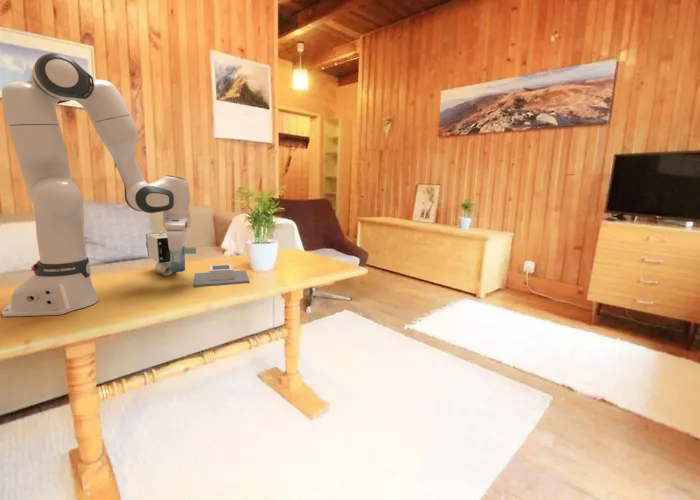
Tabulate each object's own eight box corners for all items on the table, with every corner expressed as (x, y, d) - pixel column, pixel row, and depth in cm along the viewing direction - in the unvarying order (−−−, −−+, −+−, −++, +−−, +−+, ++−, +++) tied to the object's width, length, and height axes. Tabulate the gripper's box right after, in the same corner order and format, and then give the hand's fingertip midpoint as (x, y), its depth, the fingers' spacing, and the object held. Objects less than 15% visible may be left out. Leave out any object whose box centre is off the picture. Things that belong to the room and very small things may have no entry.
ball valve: (185, 276, 143) (182, 233, 139) (162, 280, 137) (159, 235, 133) (168, 267, 155) (166, 227, 151) (147, 270, 149) (143, 229, 145)
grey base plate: (193, 287, 131) (192, 274, 130) (194, 275, 145) (194, 263, 144) (249, 282, 138) (249, 270, 137) (245, 271, 153) (245, 261, 152)
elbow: (170, 272, 128) (169, 247, 126) (171, 269, 132) (170, 245, 131) (196, 271, 131) (195, 247, 129) (196, 268, 135) (196, 245, 134)
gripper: (169, 218, 136) (170, 253, 138) (164, 225, 117) (165, 265, 120) (187, 218, 138) (188, 253, 141) (184, 225, 120) (185, 265, 122)
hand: (177, 259), depth 130 cm, fingers closed on elbow, 5 cm apart
